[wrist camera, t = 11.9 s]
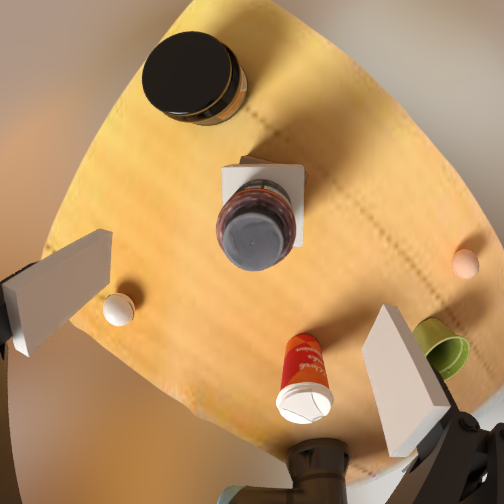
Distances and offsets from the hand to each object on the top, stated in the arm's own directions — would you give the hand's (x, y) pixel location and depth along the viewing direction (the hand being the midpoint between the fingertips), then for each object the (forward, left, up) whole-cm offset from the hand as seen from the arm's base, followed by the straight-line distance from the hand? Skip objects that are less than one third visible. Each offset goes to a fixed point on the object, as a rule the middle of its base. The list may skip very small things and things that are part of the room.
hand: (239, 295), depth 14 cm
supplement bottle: (0, 0, -18) cm, 18 cm away
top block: (0, 0, -24) cm, 24 cm away
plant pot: (-15, -33, -30) cm, 47 cm away
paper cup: (-23, -12, -30) cm, 39 cm away
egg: (-1, -32, -30) cm, 44 cm away
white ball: (-23, +19, -30) cm, 42 cm away
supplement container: (+12, +11, -30) cm, 34 cm away
